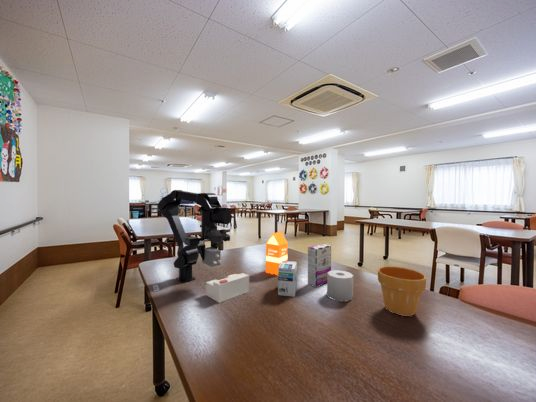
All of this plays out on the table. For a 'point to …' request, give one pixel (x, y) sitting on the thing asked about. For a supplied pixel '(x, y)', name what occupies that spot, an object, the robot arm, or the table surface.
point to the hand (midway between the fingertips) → (208, 259)
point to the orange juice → (276, 252)
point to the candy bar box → (318, 264)
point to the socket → (228, 287)
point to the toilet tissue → (340, 285)
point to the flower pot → (401, 288)
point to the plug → (211, 257)
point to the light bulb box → (287, 278)
